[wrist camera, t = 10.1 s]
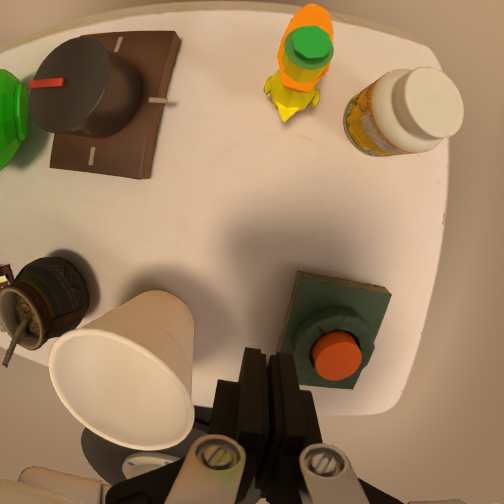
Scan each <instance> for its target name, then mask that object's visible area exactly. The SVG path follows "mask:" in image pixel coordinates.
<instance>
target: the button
mask: <svg viewBox="0 0 504 504" xmlns="http://www.w3.org/2000/svg"><path fill="white" fill-rule="evenodd" d="M312 355H313V359H314V363H315V367H316V370H317V372H318V374H319V375H320V376H321V377H323V378H324V379H327V380H333V381H335V380H341V379H344V378H347V377H349V376H350V375H352V374H353V373H354V372H355V371H356V370H357V369H358V367H359V365H360V363H361V359H362V356H361V352H360V349H359V348H358V346H357V344H356V342H355V340H354V338H353V337H352V336H351V335H350V334H348V333H346V332H342V331H334V332H330V333H327V334H325V335H324V336H322V337H321V338H320V339H319V340H318V341H317V342H316V343H315V345H314V347H313V352H312Z"/></svg>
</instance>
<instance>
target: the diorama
mask: <svg viewBox="0 0 504 504" xmlns="http://www.w3.org/2000/svg"><path fill="white" fill-rule="evenodd" d="M12 282H13V279H12V276H11V273H10V270H9V267H8V265H5V266H2V267H0V291H1V289H2V288H3V287H5V286H7V285H9V284H10V283H12ZM0 330H1V332H6V329H5V328H4V326H3V324H2V322H1V319H0Z"/></svg>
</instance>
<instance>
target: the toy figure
mask: <svg viewBox="0 0 504 504" xmlns="http://www.w3.org/2000/svg"><path fill="white" fill-rule="evenodd" d="M333 51H334V49H333V28H332V23H331V19H330V17H329V15H328V13H327V11H326V9H325V8H324V7H321V6H317V5H314V4H308V5H307V6H305V7H303V8H302V9H300V10H299V11H298V12H297V13H296V15H295V16H294V17H293V18H292V19H291V21H290V23H289V25H288V27H287V29H286V32H285V34H284V36H283V38H282V41H281V44H280V48H279V51H278V55H277V58H278V63H279V68H280V69H279V70H278V71H277V72H276V73H275V74H274V76H273V77H272V76H270V77H269V78H268V80H267V81H266V83H265V87H264V92H265V94H266V95H267V94H269V92H270V97H271V102H272V103H273V104H275V105H276V106H277V107H278V110H279V112H280V115H281V118H282V120H283V123H284V122H285V121H286V120H288V119H289V118H290V117H291V116H292V115H293V114H294V113H295V112H296V111H303V110H304V108H305V107H306V106H307V105H308V103H309V102H310V101H311V100H312V101H311V105H312V107H314V106H317V104H318V101H319V98H320V95H319V89H318V88H317V89H316V87H315V85H316V84H317V83H318V81H319V80H320V79H321V78H322V77H323V76H324V75H325V73H326V72H327V71H328V69H329V65H330V60H331V59H332V56H333Z"/></svg>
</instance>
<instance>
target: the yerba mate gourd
mask: <svg viewBox="0 0 504 504" xmlns="http://www.w3.org/2000/svg"><path fill="white" fill-rule="evenodd" d="M89 300H90V296H89V292H88V288H87V285H86V282H85V279H84V277H83V276H82V274H81V272H80V271H79V270H78V269H77V267H76V266H75V265H73V264H72V263H71V262H69V261H67V260H66V259H64V258H61V257H57V256H55V257H44V258H40V259H37V260H34V261H33V262H31V263H29V264H27V265H26V266H25V267H24V268H22V269H21V271H20V272H19V274H18V275H17V276H16V278H15V280H14V281H13V282H12V283H10V284H9V285H7V286H5V287H3V288H2V289H1V291H0V319H1V322H2V324H3V326H4V328H5V329H6V331H7V333H8V334H9V335H10V337H11V338H12V341H11V343H10V346H9V348H8V350H7V353H6V357H5V358H4V361H3V363H2V365H4V366H5V367H6V368H7V366H8V363H9V361H10V359H11V356H12V355H13V351H14V349H15V347H16V344H19V345H20V346H22V347H23V348H26V349H28V350H37V349H39V348H40V347H41V346H42V345H43V344H44V343H45V342H47V340H48V339H51V338H54V337H60V336H61V335H63V334H65V333H67V332H68V331H70V330H74V329H75V328H76V327H77V326H78V325H79V324H80V322H81V320H82V318H83V317H84V315H85V313H86V311H87V309H88V307H89Z"/></svg>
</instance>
